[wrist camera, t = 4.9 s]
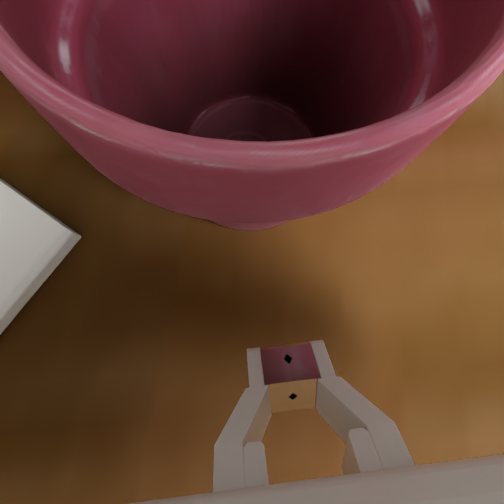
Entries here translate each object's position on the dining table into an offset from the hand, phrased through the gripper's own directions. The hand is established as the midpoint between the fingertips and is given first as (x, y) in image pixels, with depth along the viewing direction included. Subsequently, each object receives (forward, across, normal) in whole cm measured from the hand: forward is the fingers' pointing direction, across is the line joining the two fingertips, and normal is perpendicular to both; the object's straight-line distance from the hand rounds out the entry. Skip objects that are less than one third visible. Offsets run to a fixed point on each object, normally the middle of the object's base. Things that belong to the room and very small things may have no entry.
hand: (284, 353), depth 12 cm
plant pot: (+12, 0, -4) cm, 13 cm away
